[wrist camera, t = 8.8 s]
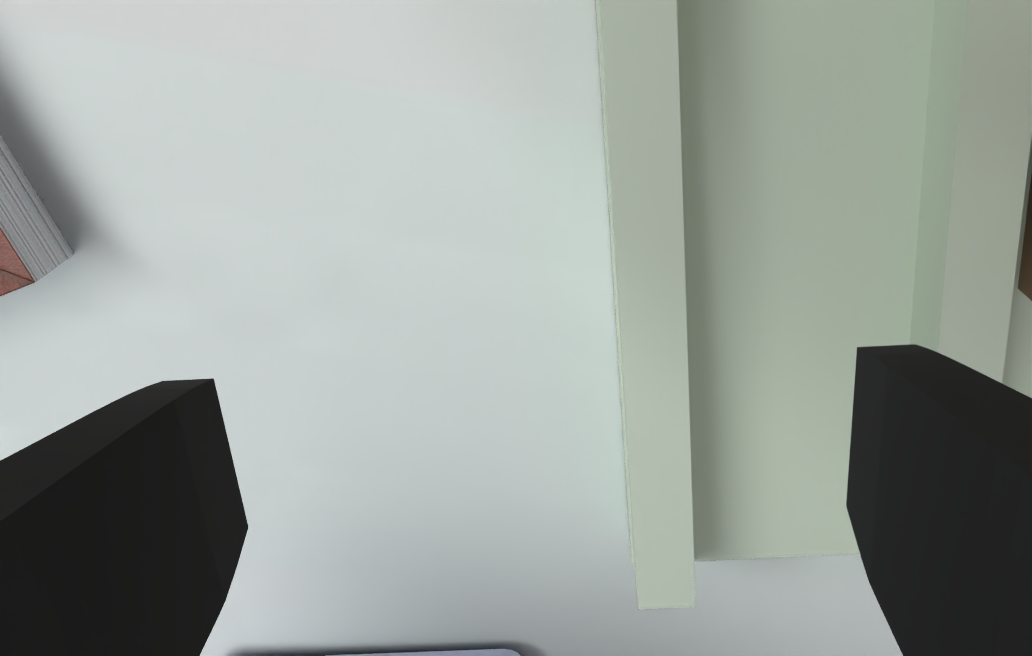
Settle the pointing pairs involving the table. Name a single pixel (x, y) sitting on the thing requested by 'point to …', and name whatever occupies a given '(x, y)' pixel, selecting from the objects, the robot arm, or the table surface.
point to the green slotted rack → (798, 247)
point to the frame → (1027, 253)
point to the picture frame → (25, 230)
